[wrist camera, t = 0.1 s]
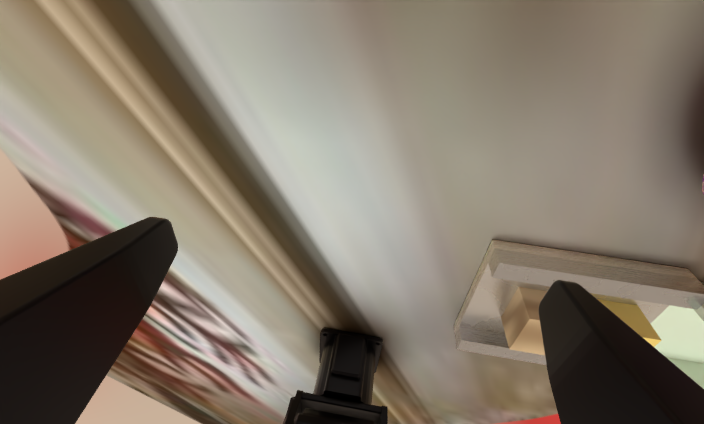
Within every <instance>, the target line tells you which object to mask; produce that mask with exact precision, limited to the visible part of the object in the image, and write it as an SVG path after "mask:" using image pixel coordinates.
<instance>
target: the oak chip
mask: <svg viewBox="0 0 704 424" xmlns="http://www.w3.org/2000/svg"><path fill="white" fill-rule="evenodd" d="M546 293H547V291H543V290H537V289H530V288H524V287H518V289H517V290H516V292H515V294H514V296H513V297H512V299H511V301H510V302H509V304H508V306H507V308H506V309H505V311H504V313H503V315H502V316H501V320H502V324H503V327H504V331H505V335H506V339H507V342H508V346H509V349H510V350H516V351H522V352H528V353H533V354H539V355H545V351H544V345H543V338H542V332H541V326H540V319H539V312H538V311H539V304H540V302H541V300H542V299H543V297H544V296H545V294H546Z"/></svg>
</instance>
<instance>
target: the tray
mask: <svg viewBox="0 0 704 424" xmlns="http://www.w3.org/2000/svg"><path fill="white" fill-rule="evenodd" d="M701 283H702V282H701ZM702 284H703V285H704V283H702ZM651 325H652V327H653V328H654V330H655V331H656V333H657V334H658V336H659V337H660V339H661V340H662V341H660V342H659V343H658V344H657V345H656V346H655V347H654V348H656V349H657V350H658V351H659V352H660V353H662V354H663V355H664V356H665V357H666V358H668V359H669V360H670V361H671V362H672V363H673V364H675V365H676V366H677V367H678V368H679V369H681V370H682V371H683V372H684V373H685V374H687V375H688V376H689V377H690V378H691V379H692V380H694V381H695V382H696V383H697V384H698V385H700V386H701V387H702V388H703V389H704V304H703V305H702V306H701V307H700V308H698V309H697V310H696V309H690V308H683V307H677V306H671V305H669V306H668V307H667V308H666V309H665V310H664V311H663V312H662V313H661V314H660V315H659V316H658V317H657V318H656V319H655V320H654V321H653V322H652V323H651Z"/></svg>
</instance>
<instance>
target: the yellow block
mask: <svg viewBox="0 0 704 424" xmlns="http://www.w3.org/2000/svg"><path fill="white" fill-rule="evenodd" d="M597 300H599V301H600V302H601V303H602V304H603V305H605V306H606V307H607V308H608V309H609V310H611V311H612V312H613V313H614V314H615V315H616V316H618V317H619V318H620V319H621V320H622V321H624V322H625V323H626V324H627V325H628V326H630V327H631V328H632V329H633V330H634V331H635V332H637V333H638V334H639V335H640V336H641V337H643V338H644V339H645V340H646V341H647V342H649V343H650V344H651V345H652V346H653V347H655V346H656V345H657V344H658V343H659V342H660V341H662V340H661V339H660V337H659V336H658V334H657V333H656V331H655V330H654V328H653V327H652V325H651V324H650V323H649V321H648V320H647V318H646V317H645V315H644V314H643V312H642V311H641V309H640V308H639V306H638V305H632V304H626V303H619V302H613V301H607V300H600V299H597Z"/></svg>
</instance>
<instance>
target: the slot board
mask: <svg viewBox="0 0 704 424" xmlns="http://www.w3.org/2000/svg"><path fill="white" fill-rule="evenodd" d="M557 280H564V281H570V282H575V283H578V284H579V285H581V286H582V287H583V288H584V289H586V290H587V291H588V292H589V293H590V294H591V295H593V296H594V297H595V298H596V299H600V300H607V301H613V302H619V303H626V304H632V305H638V306H639V308H640V309H641V311H642V312H643V314H644V315H645V317H646V318H647V320H648V321H649V323H650V324H651V323H652V322H653V321H654V320H655V319H656V318H657V317H658V316H659V315H660V314H661V313H662V312H663V311H664V310H665V309H666V308H667V307H668V306H669V305H671V306H677V307H683V308H690V309H696V310H697V309H698V308H700V307H701V306H702V305H703V304H704V285H703V284H702V283H701V282H700V281H699V280H698V279H697V278H696V277H695V276H694V275H693V274H692V273H691V272H690V271H689V269H687V268H681V267H674V266H667V265H660V264H654V263H647V262H640V261H634V260H627V259H620V258H614V257H607V256H600V255H593V254H587V253H580V252H573V251H567V250H560V249H553V248H546V247H540V246H533V245H526V244H520V243H513V242H506V241H500V240H493V239H492V241H491V243H490V246H489V248H488V250H487V252H486V255H485V257H484V259H483V261H482V264H481V266H480V268H479V270H478V272H477V275H476V277H475V279H474V281H473V284H472V286H471V288H470V290H469V293H468V295H467V297H466V299H465V302H464V304H463V306H462V308H461V310H460V313H459V315H458V317H457V319H456V322H455V324H454V331H455V339H456V347H457V350H462V351H468V352H474V353H480V354H485V355H491V356H497V357H503V358H509V359H515V360H520V361H526V362H532V363H538V364H544V365H547V364H546V358H545V355H539V354H533V353H528V352H522V351H516V350H510V349H509V346H508V342H507V339H506V335H505V331H504V327H503V324H502V320H501V316H502V315H503V313H504V311H505V309H506V308H507V306H508V304H509V302H510V301H511V299H512V297H513V296H514V294H515V292H516V290H517V289H518V287H524V288H530V289H537V290H543V291H548V290H549V288H550V287H551V285H552V284H553V282H555V281H557Z"/></svg>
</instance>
